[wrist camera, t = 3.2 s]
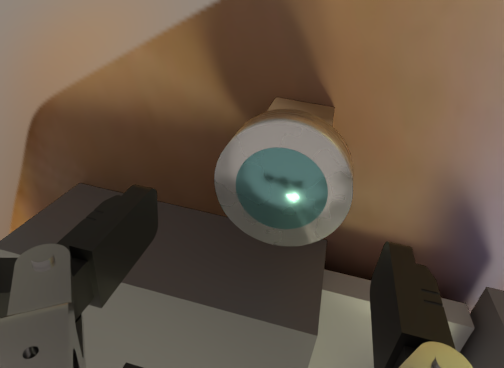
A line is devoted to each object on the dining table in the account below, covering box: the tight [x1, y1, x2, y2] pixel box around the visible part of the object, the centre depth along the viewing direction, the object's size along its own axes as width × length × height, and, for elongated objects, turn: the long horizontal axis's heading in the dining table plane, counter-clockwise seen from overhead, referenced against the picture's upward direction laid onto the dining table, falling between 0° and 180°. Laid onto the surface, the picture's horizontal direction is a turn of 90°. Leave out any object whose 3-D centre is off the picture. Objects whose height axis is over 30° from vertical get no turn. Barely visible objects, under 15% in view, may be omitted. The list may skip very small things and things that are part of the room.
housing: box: [0, 183, 327, 368], centre depth 26 cm, size 18×17×8 cm
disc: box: [214, 109, 353, 246], centre depth 16 cm, size 6×6×2 cm
